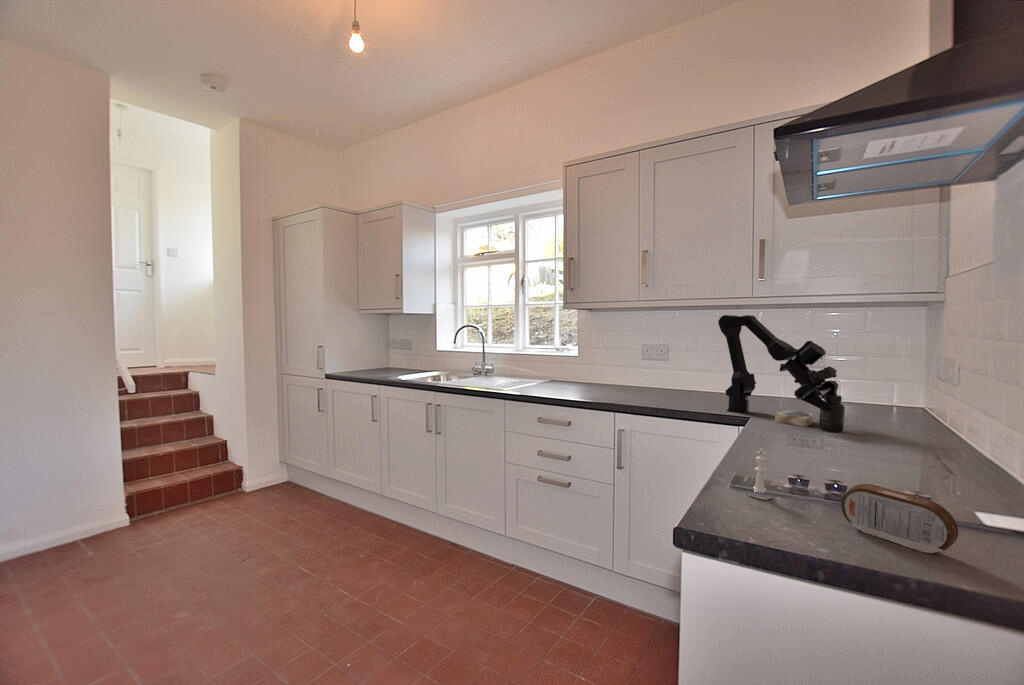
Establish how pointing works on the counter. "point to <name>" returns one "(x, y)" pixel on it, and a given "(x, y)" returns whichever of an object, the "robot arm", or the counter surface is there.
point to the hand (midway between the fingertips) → (835, 409)
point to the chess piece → (760, 472)
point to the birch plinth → (794, 418)
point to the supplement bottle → (832, 414)
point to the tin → (900, 515)
